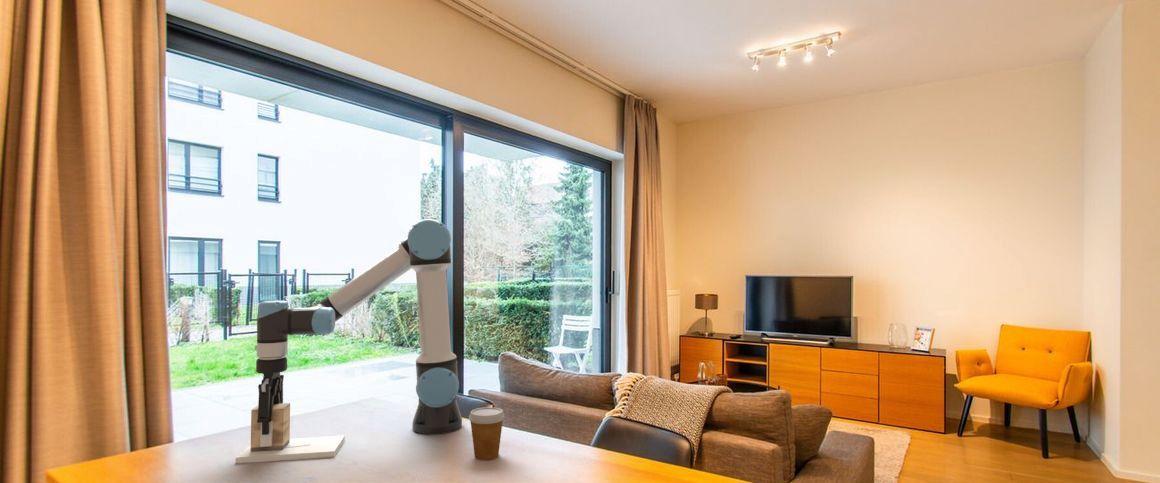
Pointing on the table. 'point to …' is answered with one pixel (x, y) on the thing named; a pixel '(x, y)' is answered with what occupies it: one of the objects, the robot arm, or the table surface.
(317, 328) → the robot arm
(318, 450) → the board
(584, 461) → the table surface
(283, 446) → the block
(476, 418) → the disposable coffee cup
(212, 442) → the table surface
